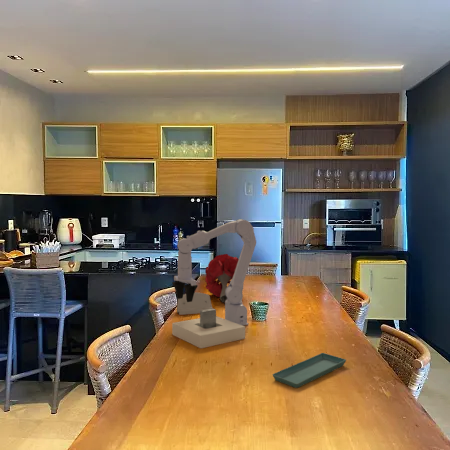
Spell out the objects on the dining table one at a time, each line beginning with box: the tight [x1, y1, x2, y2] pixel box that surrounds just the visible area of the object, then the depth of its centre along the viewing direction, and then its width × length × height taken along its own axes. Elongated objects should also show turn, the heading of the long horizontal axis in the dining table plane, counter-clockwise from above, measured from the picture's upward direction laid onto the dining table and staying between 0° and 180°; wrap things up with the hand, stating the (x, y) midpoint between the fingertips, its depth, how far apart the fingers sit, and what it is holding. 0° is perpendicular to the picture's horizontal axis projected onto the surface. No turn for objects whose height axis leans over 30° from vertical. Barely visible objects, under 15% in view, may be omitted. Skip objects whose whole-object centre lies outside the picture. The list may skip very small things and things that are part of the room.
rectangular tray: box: [272, 352, 347, 389], centre depth 137 cm, size 26×9×2 cm, turn 134°
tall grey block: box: [199, 308, 217, 329], centre depth 172 cm, size 6×6×10 cm
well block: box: [171, 315, 246, 349], centre depth 172 cm, size 20×20×4 cm
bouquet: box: [204, 253, 239, 304], centre depth 240 cm, size 22×24×30 cm
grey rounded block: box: [176, 291, 214, 315], centre depth 211 cm, size 17×5×10 cm, turn 109°
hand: (184, 300), depth 188 cm, fingers open, 7 cm apart
